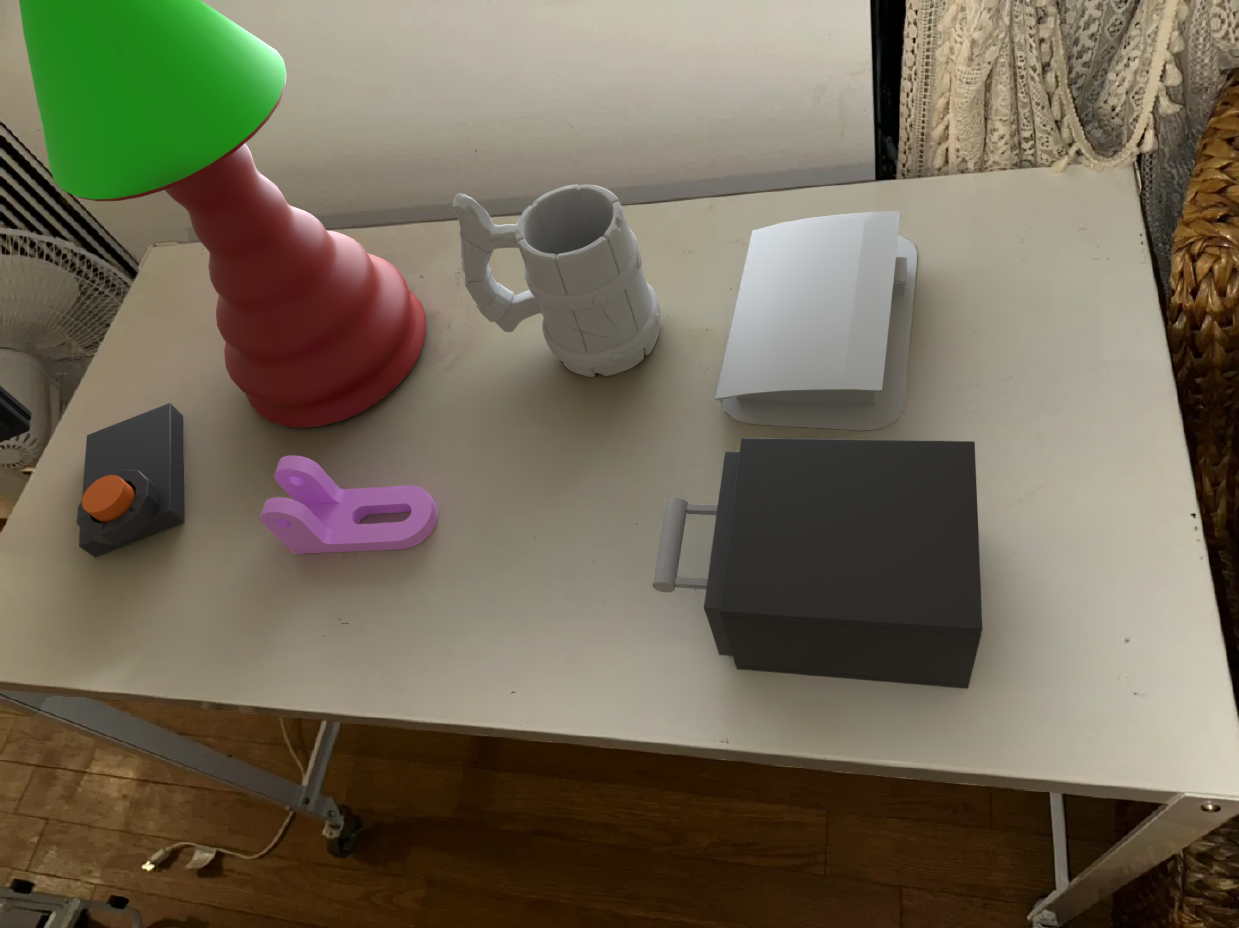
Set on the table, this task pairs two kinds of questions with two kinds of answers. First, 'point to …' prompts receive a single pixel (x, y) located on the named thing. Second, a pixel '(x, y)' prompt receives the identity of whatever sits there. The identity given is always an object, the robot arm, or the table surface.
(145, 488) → the control block
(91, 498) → the button
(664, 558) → the dark grey drawer
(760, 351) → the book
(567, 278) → the mug
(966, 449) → the dark grey drawer cabinet
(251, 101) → the table lamp
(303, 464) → the bracket
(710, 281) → the table surface
